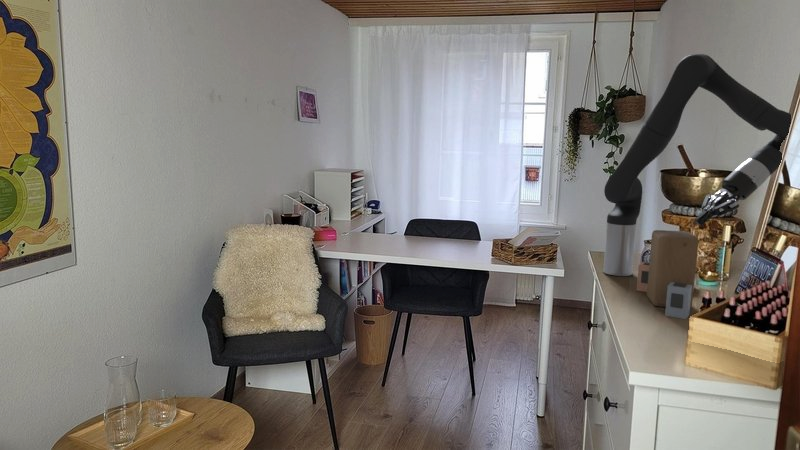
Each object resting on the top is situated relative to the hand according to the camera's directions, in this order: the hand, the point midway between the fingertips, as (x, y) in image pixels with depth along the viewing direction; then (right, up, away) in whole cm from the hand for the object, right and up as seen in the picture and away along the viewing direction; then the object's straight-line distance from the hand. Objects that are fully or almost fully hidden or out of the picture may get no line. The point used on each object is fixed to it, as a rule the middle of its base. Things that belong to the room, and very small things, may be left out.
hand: (697, 223), depth 158 cm
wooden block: (-6, -23, +3) cm, 24 cm away
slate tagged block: (-9, -24, -7) cm, 27 cm away
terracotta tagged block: (-7, -20, +17) cm, 27 cm away
